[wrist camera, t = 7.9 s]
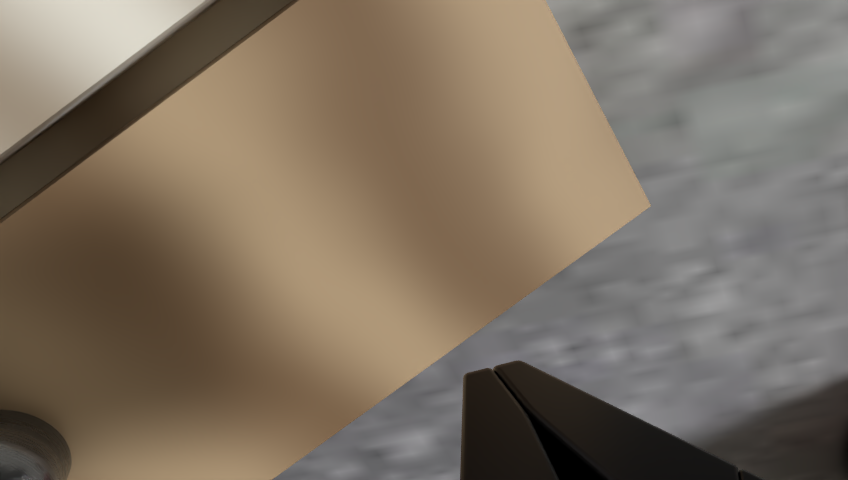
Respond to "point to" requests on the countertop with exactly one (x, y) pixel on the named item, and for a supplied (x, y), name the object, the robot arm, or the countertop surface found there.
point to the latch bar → (31, 449)
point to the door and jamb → (275, 212)
